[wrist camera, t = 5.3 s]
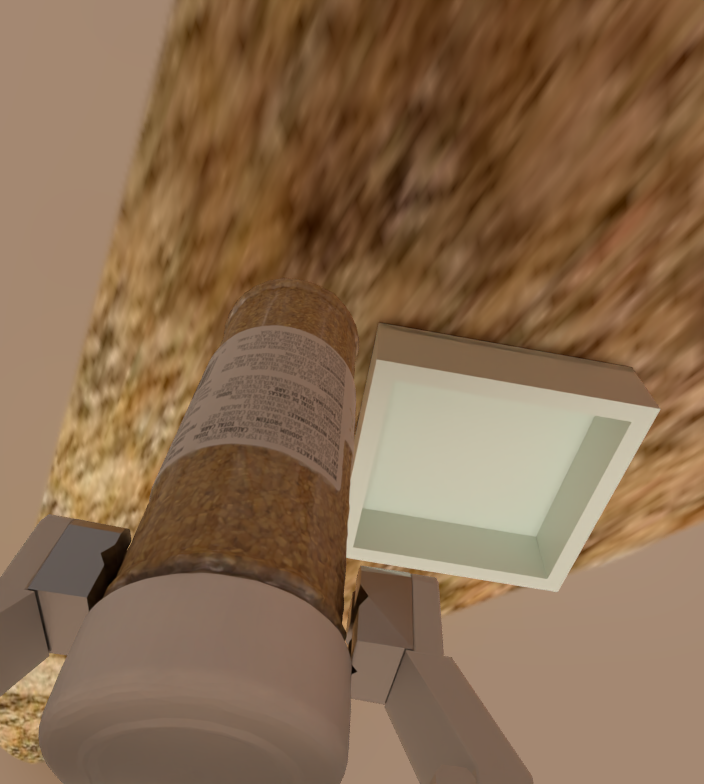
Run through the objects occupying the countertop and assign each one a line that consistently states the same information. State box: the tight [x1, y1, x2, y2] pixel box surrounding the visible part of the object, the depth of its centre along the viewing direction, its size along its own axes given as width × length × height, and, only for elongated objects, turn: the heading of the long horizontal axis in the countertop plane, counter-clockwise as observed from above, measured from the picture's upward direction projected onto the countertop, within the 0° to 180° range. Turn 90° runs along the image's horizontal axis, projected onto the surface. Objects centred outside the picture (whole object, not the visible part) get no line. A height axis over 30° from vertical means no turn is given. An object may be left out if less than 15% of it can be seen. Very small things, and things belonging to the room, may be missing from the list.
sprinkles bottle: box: [39, 278, 359, 784], centre depth 14 cm, size 5×5×14 cm
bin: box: [346, 323, 660, 592], centre depth 33 cm, size 14×14×4 cm
